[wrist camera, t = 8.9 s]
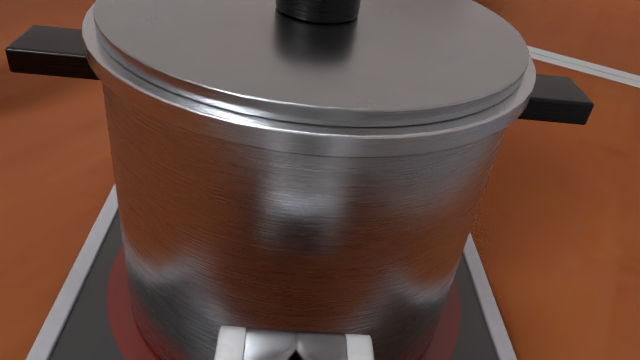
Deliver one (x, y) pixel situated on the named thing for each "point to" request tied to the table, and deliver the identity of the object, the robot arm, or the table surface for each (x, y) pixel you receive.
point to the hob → (138, 356)
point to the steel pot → (299, 155)
